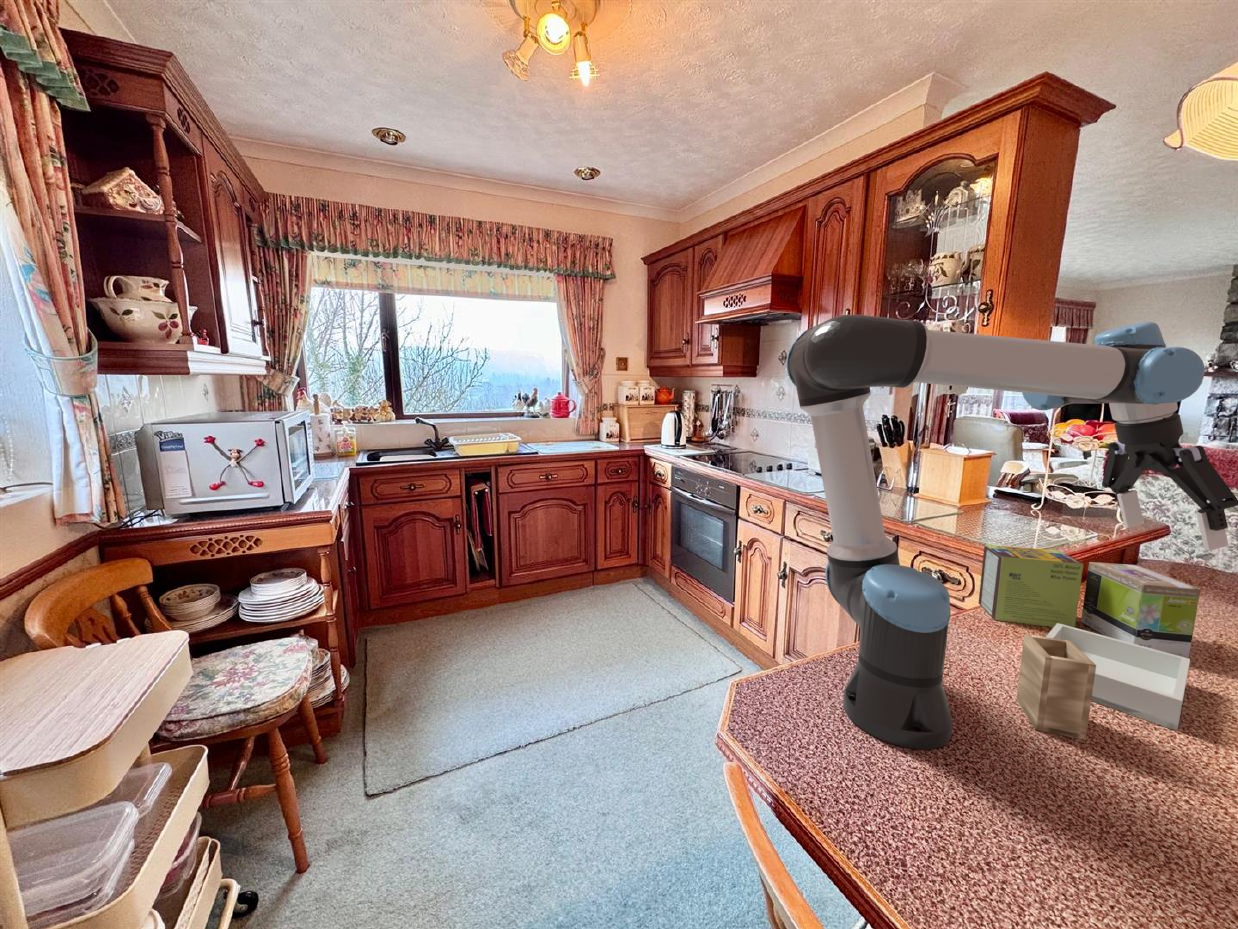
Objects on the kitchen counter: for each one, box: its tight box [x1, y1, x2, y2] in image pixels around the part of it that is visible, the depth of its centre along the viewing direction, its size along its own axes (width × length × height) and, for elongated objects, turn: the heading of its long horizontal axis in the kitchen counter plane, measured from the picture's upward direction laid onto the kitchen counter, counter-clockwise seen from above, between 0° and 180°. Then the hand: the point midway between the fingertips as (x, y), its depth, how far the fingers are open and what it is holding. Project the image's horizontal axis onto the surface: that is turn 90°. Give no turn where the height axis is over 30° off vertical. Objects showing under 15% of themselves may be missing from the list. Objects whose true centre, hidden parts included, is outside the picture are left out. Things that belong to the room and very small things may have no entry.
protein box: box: [978, 544, 1084, 628], centre depth 115 cm, size 10×15×16 cm
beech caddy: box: [1015, 633, 1096, 741], centre depth 77 cm, size 6×8×12 cm
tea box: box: [1080, 561, 1201, 659], centre depth 104 cm, size 15×10×15 cm
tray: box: [1045, 623, 1191, 732], centre depth 88 cm, size 18×20×5 cm
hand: (1172, 535), depth 83 cm, fingers open, 13 cm apart
